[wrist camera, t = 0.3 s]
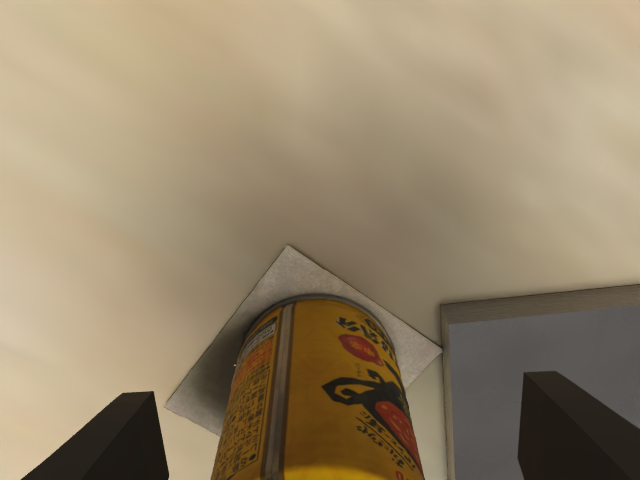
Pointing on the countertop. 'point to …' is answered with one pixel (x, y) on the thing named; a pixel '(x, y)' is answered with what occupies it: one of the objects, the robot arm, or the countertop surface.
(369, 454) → the condiment
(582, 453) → the robot arm
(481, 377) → the base
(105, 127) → the countertop surface
